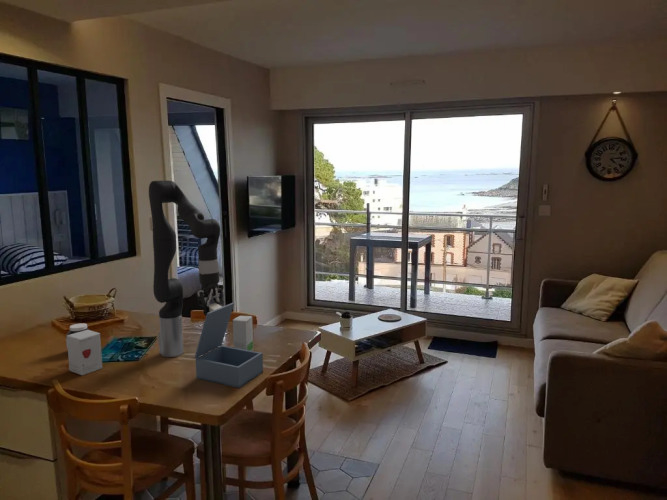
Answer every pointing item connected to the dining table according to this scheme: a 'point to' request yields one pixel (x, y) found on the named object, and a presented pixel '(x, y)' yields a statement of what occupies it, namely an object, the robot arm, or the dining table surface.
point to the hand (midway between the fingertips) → (211, 313)
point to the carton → (229, 366)
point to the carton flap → (214, 328)
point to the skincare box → (243, 333)
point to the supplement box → (84, 352)
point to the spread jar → (76, 329)
